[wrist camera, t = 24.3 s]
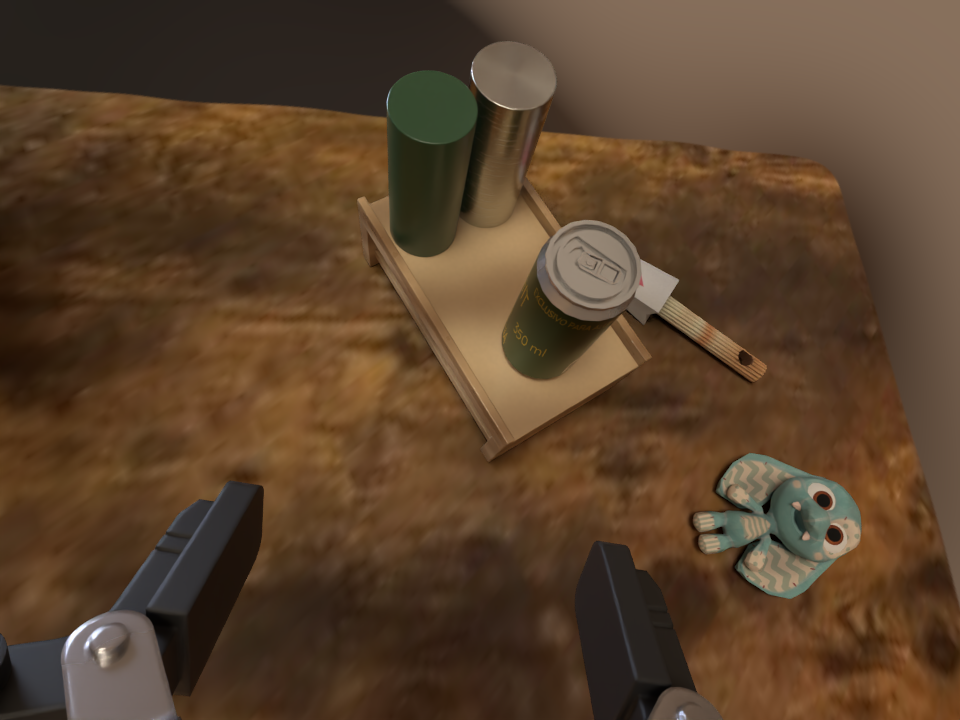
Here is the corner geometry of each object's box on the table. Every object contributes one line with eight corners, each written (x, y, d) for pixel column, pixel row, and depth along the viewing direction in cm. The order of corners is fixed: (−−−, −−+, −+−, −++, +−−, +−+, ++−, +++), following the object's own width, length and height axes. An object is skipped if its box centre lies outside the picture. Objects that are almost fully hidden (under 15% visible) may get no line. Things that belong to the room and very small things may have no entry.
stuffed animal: (696, 455, 40) (865, 431, 40) (668, 466, 47) (812, 446, 47) (737, 619, 37) (920, 594, 37) (701, 605, 44) (855, 584, 43)
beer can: (587, 332, 40) (661, 247, 29) (555, 396, 38) (621, 332, 27) (520, 296, 40) (568, 198, 29) (486, 358, 38) (522, 279, 27)
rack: (363, 255, 47) (342, 78, 29) (484, 201, 50) (531, 11, 33) (487, 462, 43) (551, 403, 25) (610, 388, 46) (742, 289, 29)
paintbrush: (586, 211, 48) (778, 353, 47) (575, 228, 50) (757, 362, 50) (562, 242, 46) (759, 388, 46) (552, 257, 49) (739, 396, 48)
